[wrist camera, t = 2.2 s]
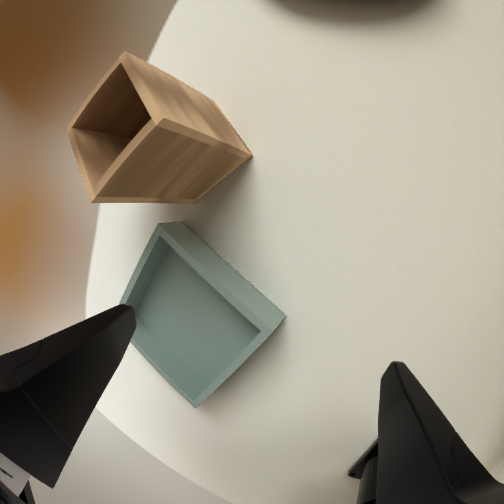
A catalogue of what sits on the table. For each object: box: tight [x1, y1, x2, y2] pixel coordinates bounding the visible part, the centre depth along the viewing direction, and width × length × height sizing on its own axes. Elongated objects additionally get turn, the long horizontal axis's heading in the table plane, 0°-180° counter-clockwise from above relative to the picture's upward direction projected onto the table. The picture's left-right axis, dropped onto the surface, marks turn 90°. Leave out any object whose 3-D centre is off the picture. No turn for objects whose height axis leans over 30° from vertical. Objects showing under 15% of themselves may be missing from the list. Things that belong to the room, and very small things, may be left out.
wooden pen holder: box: [67, 52, 253, 203], centre depth 16 cm, size 6×6×10 cm
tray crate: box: [119, 222, 286, 408], centre depth 22 cm, size 11×11×3 cm
